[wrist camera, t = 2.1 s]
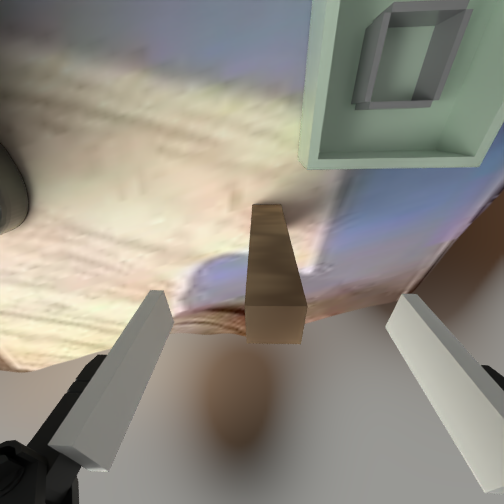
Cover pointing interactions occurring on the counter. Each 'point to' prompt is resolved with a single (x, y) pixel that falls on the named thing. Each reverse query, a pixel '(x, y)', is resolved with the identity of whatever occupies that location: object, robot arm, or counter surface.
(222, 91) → the counter surface
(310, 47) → the pale green square tray
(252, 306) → the wooden square beam
